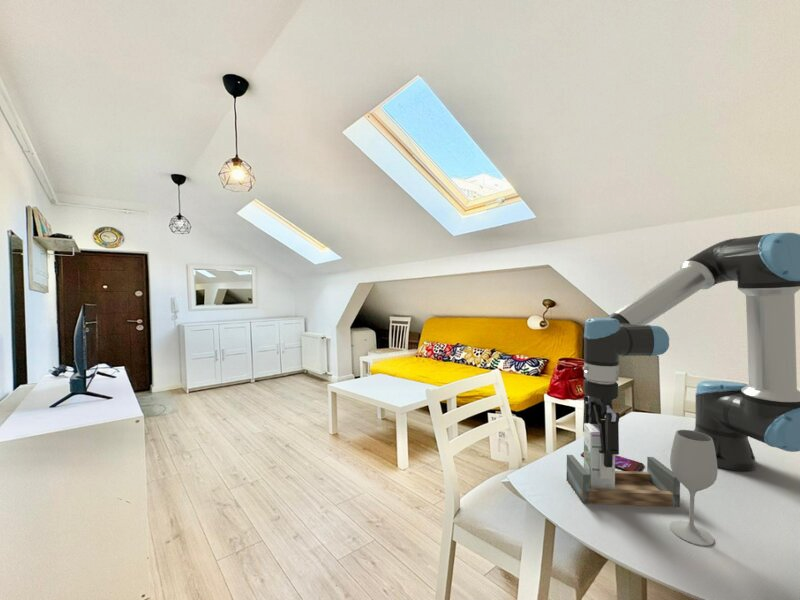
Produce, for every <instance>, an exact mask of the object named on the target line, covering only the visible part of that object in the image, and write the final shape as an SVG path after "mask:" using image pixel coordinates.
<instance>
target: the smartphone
mask: <svg viewBox="0 0 800 600" xmlns="http://www.w3.org/2000/svg"><path fill="white" fill-rule="evenodd" d="M580 457H582V458H584V451H583V452H582V453H581V454H580ZM644 467H645V465H644V463H642V462H641V461H640V462H639V461H637V460H633V459H630V458H627V457H623V456H620V455H615V469H616V470H619V471H639V472H642V470H643V468H644Z"/></svg>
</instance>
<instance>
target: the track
mask: <svg viewBox="0 0 800 600" xmlns="http://www.w3.org/2000/svg"><path fill="white" fill-rule="evenodd" d="M646 461H647V462H646V463H647V464H646V465H647V466H646V471H640V472H639V471H623V470H615V489H594V488H590V486H589V481H590V475H589V474H588V472H587V471H586V470H585V469H584V465H582V464H581V463H580V462H579V461H578V459H577V458H576V457H575V456H574V455H573V454H566V482H567V481H568V482H567V483H568V484H569V486H570V485H571V486H570V487H571V489H572V490H573V492H574V491H575V492H574V493H575V495H576V496H577V497H578V498H579V500H580V502H581V503H582V504H597V505H599V504H601V505H620V506H621V505H622V506H623V505H624V506H626V505H627V506H629V505H630V506H646V507H647V506H649V507H650V506H652V507H653V506H654V507H675V508H676V507H678V508H679V507H680V506H681V502H680V501H681V482H680V481H679V480H678V479H677V478H676V477H675V475H674V474H673V472H672V469H671V468H668V467H667V466H666V465H664V464H663V463H662V462H661V461H660V460H658V459H657V458H656V457H654V456H647V458H646Z"/></svg>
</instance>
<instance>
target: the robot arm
mask: <svg viewBox="0 0 800 600" xmlns="http://www.w3.org/2000/svg"><path fill="white" fill-rule="evenodd" d="M732 281H735V282H737V290H739V291H740V292H742V293H743V294H744V295H745V303H746V304H745V306H746V308H745V309H746V311H745V312H746V333H747V334H746V336H747V337H746V340H747V364H748V366H747V369H748V371H747V372H748V384H747V383H743V382H738V381H737V382H736V381H728V380H703V381H702V380H701V381H700V382H698V383H697V385H696V390H695V391H696V392H695V421H694V422H695V424H694V425H695V426H694V430H693V431H697V432H700V433H704V434H706V435H708V436H710V437H711V438H712V439H713V442H714V446H715V452H716V458H717V468H719V469H724V470H730V471H737V472H748V471H749V472H750V471H753V470H754V469H756V464H757V463H756V460H757V459H756V457H755V455H754V452H753V448H752V446H751V444H750V441H749V439H748V438H751V439H754V440H756V441H759V442H762V443H763V444H765V445H767V446H769V447H771V448H776V449H780V450H782V451H785V452H790V453H795V452H800V390H799V389H798V384H797V383H798V381H797V379H798V378H797V376H798V375H797V343H796V342H797V341H796V335H797V334H796V305H795V304H796V301H795V300H796V299H795V298H796V297H795V295H796V293H797V292H799V291H800V234H799V233H795V232H780V233H779V232H776V233H775V232H771V233H767V234H762V235H761V234H760V235H753V236H747V237H744V236H743V237H736V238H735V237H734V238H730V239H725V240H723V241H720V242H717V243H714V244H713V245H711V246H709V247H707V248H705V249H703V250H702V251H699V252H697V253H696V254H695V255H694V256H691V257H690V258H688V259H687V260H685V261H684V262H683V263H681V265H680V266H679V269H678V270H677V271H675V272H674V273H672V274H671V275H668V277H666V278H664V279H663V280H662V281H660V282H659V283H657V284H656V285H653V286H652V287H651V288H649V289H648V290H646V291H645V292H643V293H641V294H640V295H638V296H637V297H635V298H634V299H632V300H631V301H629V302H628V303H626V304H625V305H623V306H622V307H620V308H619V309H617V310H615V311H614V312H613V313H611V314H609V315H608V316H606V317H589V318H588V319H586V320H585V323H584V331H583V332H584V333H583V339H584V340H583V341H584V344H583V355H584V356H583V358H584V359H583V366H582V370H583V377H584V378H585V379H583V394H584V396H583V404H584V405H583V423H582V432H583V433H584V423H590V424H599V431H600V439H601V447H602V450H599V453H600V463H599V477H600V478H601V479H612V473H613V455H617V456H619V455H620V439H619V438H620V437H619V433H620V431H619V427H620V426H619V422H620V413H619V412H614V409H613V408H614V407H613V400H616V399H617V398H619V397H618V396H619V383H618V381H619V379H620V378H619V372H620V370H619V369H620V367H619V366H620V363H619V362H620V357H652V356H660V355H664V354H665V353H666V352H667V351H668V350H669V347H670V335H669V334H668V332H667V331H666V330H665V329H664V327H662V326H659V325H651V324H649V323H651V322H653V321H654V320H656V319H657V318H659V317H660V316H662V315H664V314H666V313H667V312H668V311H669V310H671V309H672V308H674V307H676V306H677V305H679V304H680V303H682V302H684V301H685V300H686V299H688V298H690V297H691V296H693V295H694V294H695V293H698V292H699V291H700V290H708V289H711V288H712V287H713V286H716V285H718V284H721V283H726V282H732Z"/></svg>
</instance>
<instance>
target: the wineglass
mask: <svg viewBox="0 0 800 600" xmlns="http://www.w3.org/2000/svg"><path fill="white" fill-rule="evenodd" d="M670 451H671V452H670V458H669V461H670V462H669V464H670V470H671V471H672V472H673V474H674V475H675V477H676V478H677V479H678V480H679V481H680V484H682V486H684V487H685V488H686V489H687V490H688V492H689V515H688V516H689V519H688V522H687V521H678V520H676V521H675V520H674V521H672V522H670V524H669V529H670V531H671V532H672V533H673V535H675V536H676V537H677V538H679V539H681V540H683V541H684V542H687V543H690V544H692V545H695V546H700V547H710V546H713V544H714V543H715V539H714V537H713V535H712V534H711V533H709V532H708V531H707V530H706V529H704V528H702V527H701V526H699V525H696V524H695V496H696V493H697V492H700V491H703V490H706V489H708V488H710V487H711V486H713V485H714V484H715V483H716V481H717V477H718V469H719V467H717V458H716V452H715V446H714V442H713V439H712V438H711V437H710V436H708V435H706V434H704V433H700V432H697V431H694V430H689V429H677V430H676V432H675V435H674V437H673V441H672V445H671V450H670Z"/></svg>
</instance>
